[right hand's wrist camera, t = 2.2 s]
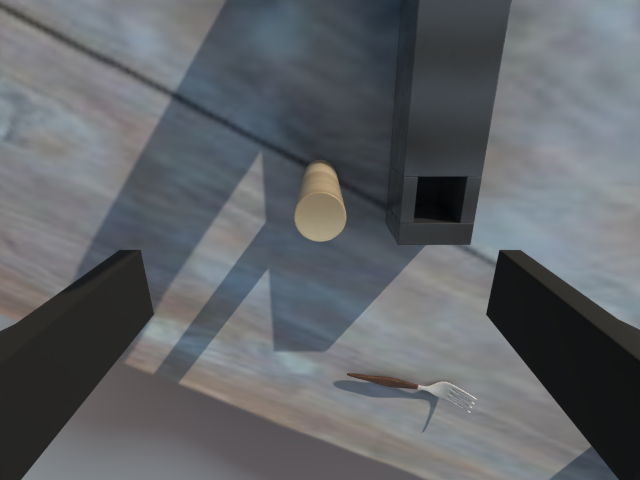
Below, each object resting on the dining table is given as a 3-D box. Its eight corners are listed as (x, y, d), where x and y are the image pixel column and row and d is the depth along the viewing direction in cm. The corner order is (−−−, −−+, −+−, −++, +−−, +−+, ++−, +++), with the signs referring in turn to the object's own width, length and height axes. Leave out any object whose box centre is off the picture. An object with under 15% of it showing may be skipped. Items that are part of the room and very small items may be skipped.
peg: (336, 191, 34) (345, 242, 21) (304, 191, 34) (294, 242, 21) (336, 159, 33) (347, 191, 20) (303, 159, 33) (292, 192, 20)
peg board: (446, 223, 36) (470, 245, 30) (385, 223, 36) (397, 245, 30) (487, -66, 27) (530, -111, 21) (406, -65, 27) (428, -111, 21)
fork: (349, 362, 42) (350, 374, 40) (471, 386, 43) (478, 398, 41) (344, 379, 43) (345, 391, 41) (463, 401, 44) (469, 414, 42)
